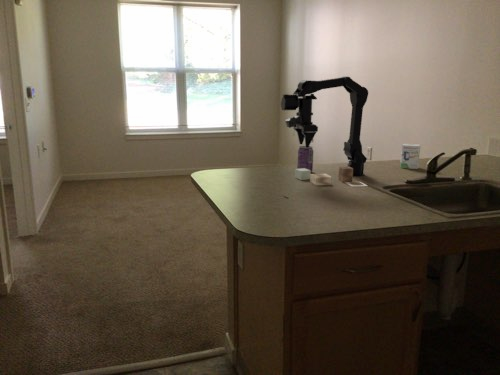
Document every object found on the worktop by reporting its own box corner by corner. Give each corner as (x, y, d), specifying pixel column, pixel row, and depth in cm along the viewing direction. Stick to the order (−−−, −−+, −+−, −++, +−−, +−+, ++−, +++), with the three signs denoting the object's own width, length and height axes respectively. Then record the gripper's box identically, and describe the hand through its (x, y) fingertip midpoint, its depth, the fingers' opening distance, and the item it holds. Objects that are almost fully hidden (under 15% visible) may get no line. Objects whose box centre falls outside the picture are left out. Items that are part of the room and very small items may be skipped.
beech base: (325, 181, 193) (325, 173, 192) (331, 185, 186) (331, 177, 186) (310, 181, 192) (310, 174, 191) (315, 185, 185) (315, 177, 184)
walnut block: (348, 179, 196) (349, 166, 194) (352, 182, 192) (353, 168, 190) (338, 180, 195) (339, 166, 194) (342, 182, 191) (343, 168, 189)
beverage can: (312, 170, 213) (313, 145, 210) (312, 173, 206) (313, 148, 203) (297, 170, 214) (298, 145, 211) (297, 173, 207) (298, 147, 204)
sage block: (304, 176, 200) (304, 168, 199) (310, 179, 196) (310, 170, 195) (294, 177, 198) (295, 169, 197) (300, 180, 194) (301, 171, 193)
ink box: (417, 167, 225) (420, 144, 223) (418, 169, 221) (420, 145, 218) (399, 166, 228) (402, 143, 225) (400, 168, 223) (402, 144, 220)
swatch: (360, 182, 191) (360, 181, 191) (367, 186, 184) (367, 185, 184) (345, 182, 190) (345, 181, 189) (351, 186, 183) (352, 185, 183)
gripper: (281, 108, 201) (281, 143, 205) (292, 112, 183) (292, 149, 187) (305, 108, 203) (304, 142, 206) (318, 111, 185) (317, 148, 189)
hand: (303, 145), depth 197 cm, fingers open, 9 cm apart
